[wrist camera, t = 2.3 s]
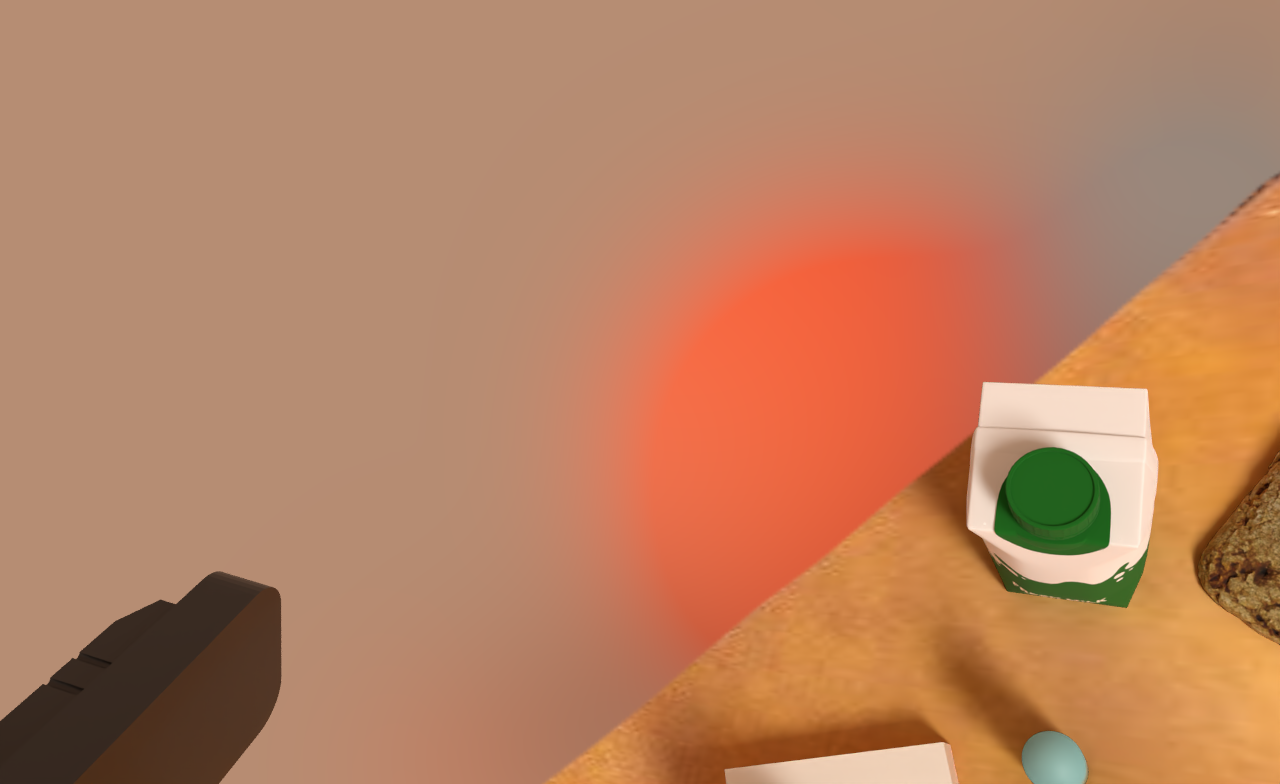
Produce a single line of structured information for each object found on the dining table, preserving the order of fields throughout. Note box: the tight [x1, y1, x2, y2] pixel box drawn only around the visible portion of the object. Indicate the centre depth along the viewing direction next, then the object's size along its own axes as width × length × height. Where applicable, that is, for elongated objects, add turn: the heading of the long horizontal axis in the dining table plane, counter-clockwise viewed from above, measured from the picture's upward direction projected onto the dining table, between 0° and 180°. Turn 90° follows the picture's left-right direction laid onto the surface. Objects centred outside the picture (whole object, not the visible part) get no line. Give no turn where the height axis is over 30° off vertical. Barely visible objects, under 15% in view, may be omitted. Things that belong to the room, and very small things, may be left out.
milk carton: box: [966, 382, 1158, 608], centre depth 52 cm, size 9×9×20 cm
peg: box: [1022, 731, 1089, 784], centre depth 53 cm, size 3×3×9 cm
